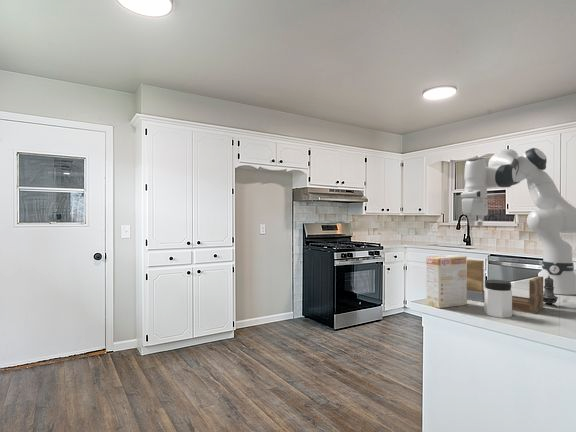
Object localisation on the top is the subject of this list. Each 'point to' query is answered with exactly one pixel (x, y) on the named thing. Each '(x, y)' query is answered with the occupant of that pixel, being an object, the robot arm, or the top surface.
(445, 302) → the coffeecake box
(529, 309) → the walnut rack
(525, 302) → the offcut boards
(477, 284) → the wooden block
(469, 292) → the slate holder
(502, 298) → the jar
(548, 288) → the salt shaker
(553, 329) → the top surface
